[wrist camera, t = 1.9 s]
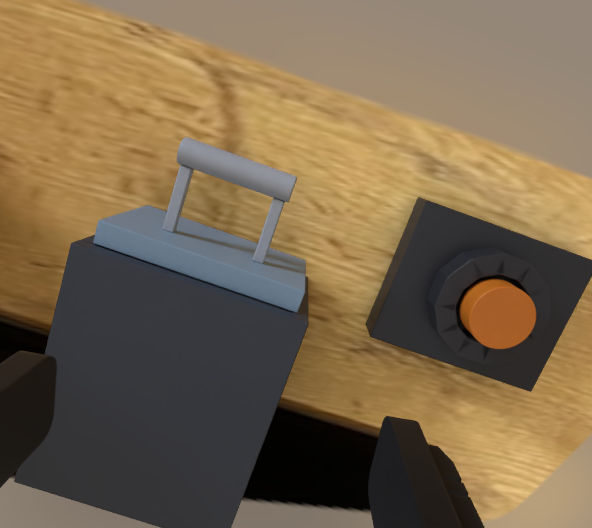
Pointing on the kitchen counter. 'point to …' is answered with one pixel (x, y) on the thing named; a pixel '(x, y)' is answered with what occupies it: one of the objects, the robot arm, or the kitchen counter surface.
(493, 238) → the control block
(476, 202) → the kitchen counter surface
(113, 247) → the drawer
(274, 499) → the kitchen counter surface
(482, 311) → the button
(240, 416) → the drawer housing
